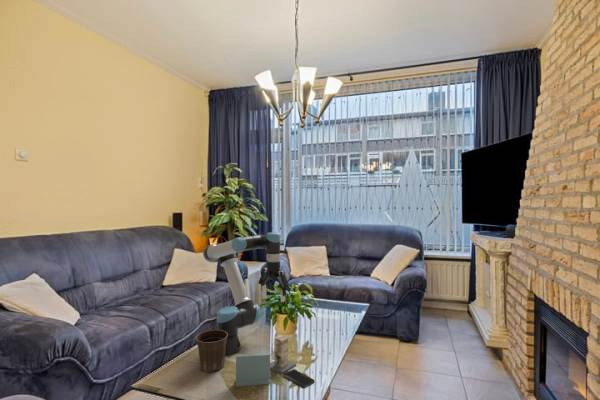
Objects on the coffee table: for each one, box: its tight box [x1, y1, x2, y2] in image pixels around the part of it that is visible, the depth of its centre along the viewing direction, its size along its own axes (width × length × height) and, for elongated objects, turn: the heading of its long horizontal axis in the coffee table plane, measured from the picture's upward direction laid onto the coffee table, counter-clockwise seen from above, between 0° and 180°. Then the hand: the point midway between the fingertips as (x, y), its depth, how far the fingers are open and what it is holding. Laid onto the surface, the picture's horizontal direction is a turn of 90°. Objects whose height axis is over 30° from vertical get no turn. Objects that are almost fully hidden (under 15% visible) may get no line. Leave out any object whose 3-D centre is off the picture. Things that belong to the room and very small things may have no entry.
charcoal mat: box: [270, 360, 297, 375], centre depth 178 cm, size 11×11×1 cm
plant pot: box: [195, 329, 228, 373], centre depth 178 cm, size 16×16×16 cm
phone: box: [283, 368, 315, 389], centre depth 166 cm, size 8×1×15 cm
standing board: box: [235, 353, 271, 387], centre depth 163 cm, size 5×16×13 cm, turn 97°
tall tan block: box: [274, 334, 289, 368], centre depth 178 cm, size 5×5×14 cm
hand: (273, 299), depth 189 cm, fingers open, 13 cm apart
